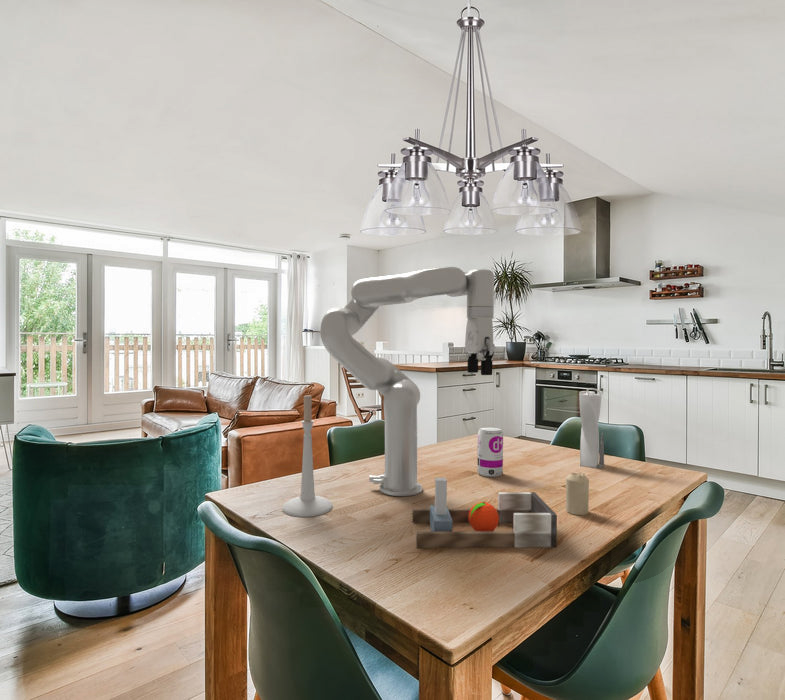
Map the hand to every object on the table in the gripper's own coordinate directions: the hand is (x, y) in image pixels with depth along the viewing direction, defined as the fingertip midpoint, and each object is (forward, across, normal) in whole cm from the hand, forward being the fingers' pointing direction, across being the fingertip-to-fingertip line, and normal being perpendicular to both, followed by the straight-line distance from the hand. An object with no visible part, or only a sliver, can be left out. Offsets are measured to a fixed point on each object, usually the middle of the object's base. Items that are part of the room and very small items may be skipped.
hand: (479, 373), depth 140 cm
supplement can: (+35, -19, +12) cm, 41 cm away
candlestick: (+35, +1, -48) cm, 60 cm away
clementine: (+35, +27, -10) cm, 45 cm away
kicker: (+35, +25, -20) cm, 47 cm away
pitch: (+35, +26, -11) cm, 45 cm away
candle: (+35, +19, +20) cm, 44 cm away
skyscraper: (+35, -22, +52) cm, 66 cm away
